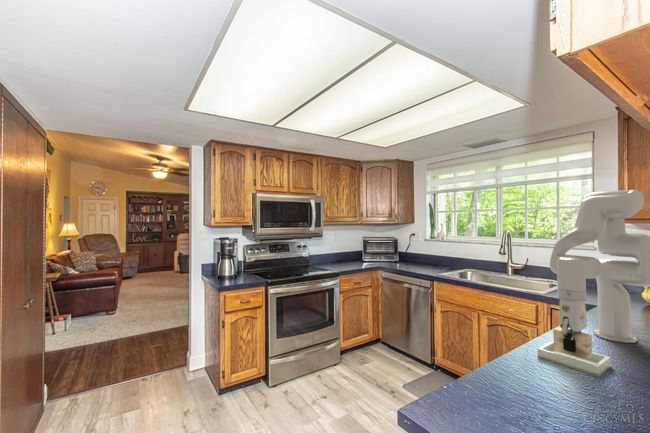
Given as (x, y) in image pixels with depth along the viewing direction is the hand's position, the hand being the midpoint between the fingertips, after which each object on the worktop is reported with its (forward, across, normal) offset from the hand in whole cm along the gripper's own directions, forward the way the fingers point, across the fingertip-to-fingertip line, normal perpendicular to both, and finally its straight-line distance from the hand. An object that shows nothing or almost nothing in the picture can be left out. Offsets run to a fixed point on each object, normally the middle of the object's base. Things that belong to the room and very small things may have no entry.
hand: (572, 348), depth 100 cm
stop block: (+1, 0, 0) cm, 1 cm away
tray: (+4, 0, 0) cm, 4 cm away
